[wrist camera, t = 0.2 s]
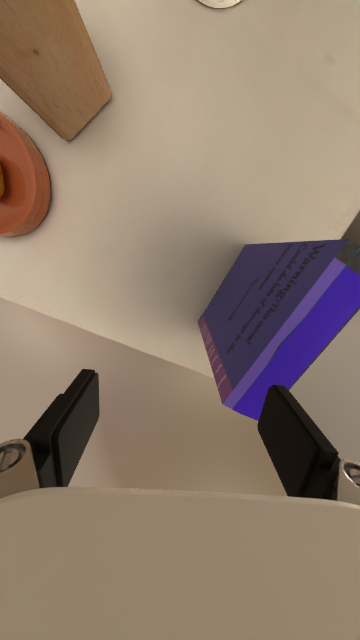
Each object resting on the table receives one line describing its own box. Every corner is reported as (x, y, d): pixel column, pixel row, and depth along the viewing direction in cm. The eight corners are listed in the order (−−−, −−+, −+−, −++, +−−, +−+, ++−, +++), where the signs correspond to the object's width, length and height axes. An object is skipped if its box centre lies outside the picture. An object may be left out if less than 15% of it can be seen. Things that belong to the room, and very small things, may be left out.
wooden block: (69, 146, 32) (-80, 5, 13) (17, 79, 30) (-262, -219, 11) (115, 97, 30) (18, -147, 12) (65, 20, 28) (-171, -465, 9)
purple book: (217, 332, 43) (262, 423, 21) (197, 322, 43) (222, 405, 20) (266, 257, 39) (395, 270, 16) (245, 244, 38) (351, 239, 15)
